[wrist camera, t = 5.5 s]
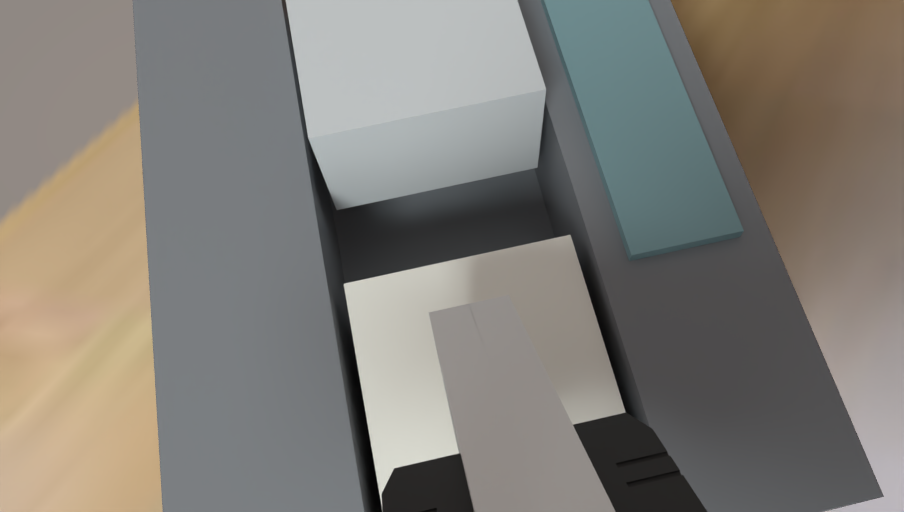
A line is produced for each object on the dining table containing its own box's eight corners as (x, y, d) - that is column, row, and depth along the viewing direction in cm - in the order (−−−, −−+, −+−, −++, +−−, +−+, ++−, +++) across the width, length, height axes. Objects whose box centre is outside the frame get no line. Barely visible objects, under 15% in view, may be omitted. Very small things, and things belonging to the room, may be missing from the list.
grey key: (308, 48, 21) (278, -42, 18) (490, 12, 21) (490, -84, 18) (336, 210, 19) (308, 138, 16) (537, 167, 19) (546, 88, 16)
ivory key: (365, 331, 19) (343, 284, 16) (558, 288, 20) (570, 234, 17) (402, 536, 17) (384, 524, 14) (617, 487, 18) (642, 465, 15)
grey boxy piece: (210, -6, 30) (116, -210, 22) (535, -70, 31) (551, -290, 23) (283, 640, 21) (165, 666, 13) (748, 530, 21) (891, 494, 14)
